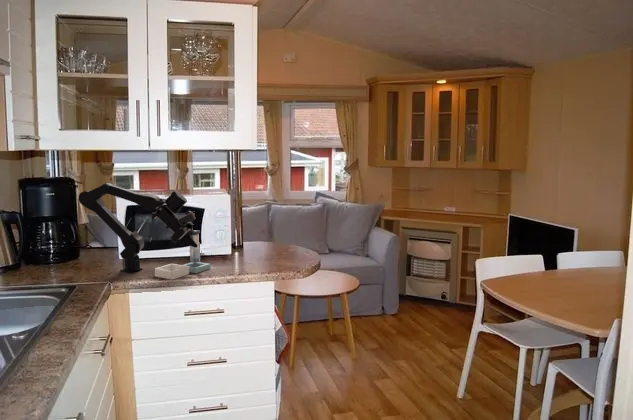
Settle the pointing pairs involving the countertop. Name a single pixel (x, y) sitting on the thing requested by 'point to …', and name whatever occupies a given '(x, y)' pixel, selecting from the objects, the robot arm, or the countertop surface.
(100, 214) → the robot arm
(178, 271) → the tray
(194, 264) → the collar
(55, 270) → the countertop surface
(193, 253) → the salt shaker
